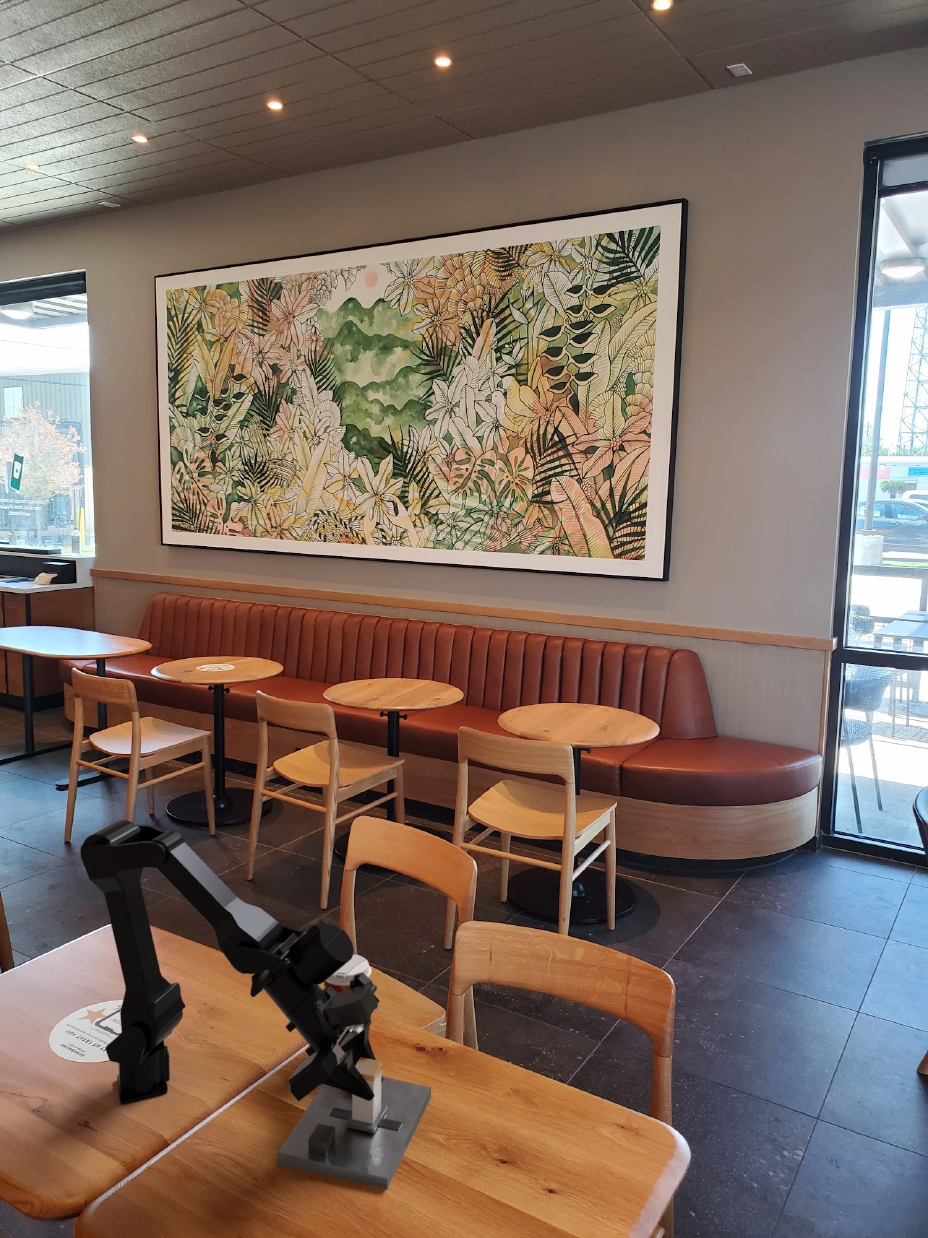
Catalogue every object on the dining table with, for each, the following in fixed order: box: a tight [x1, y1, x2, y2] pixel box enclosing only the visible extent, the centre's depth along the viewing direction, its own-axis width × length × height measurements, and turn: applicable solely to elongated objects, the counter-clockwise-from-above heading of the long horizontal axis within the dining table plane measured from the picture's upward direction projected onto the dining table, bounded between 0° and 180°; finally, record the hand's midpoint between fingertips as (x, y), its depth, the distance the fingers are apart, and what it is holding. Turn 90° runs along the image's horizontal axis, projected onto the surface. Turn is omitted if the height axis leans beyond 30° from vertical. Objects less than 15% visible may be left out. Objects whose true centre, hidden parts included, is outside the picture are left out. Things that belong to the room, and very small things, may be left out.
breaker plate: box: [277, 1076, 432, 1189], centre depth 120 cm, size 15×18×4 cm
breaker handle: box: [346, 1057, 387, 1133], centre depth 119 cm, size 4×5×8 cm
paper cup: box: [323, 953, 372, 1046], centre depth 137 cm, size 8×8×14 cm
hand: (376, 1090), depth 118 cm, fingers closed on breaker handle, 3 cm apart
